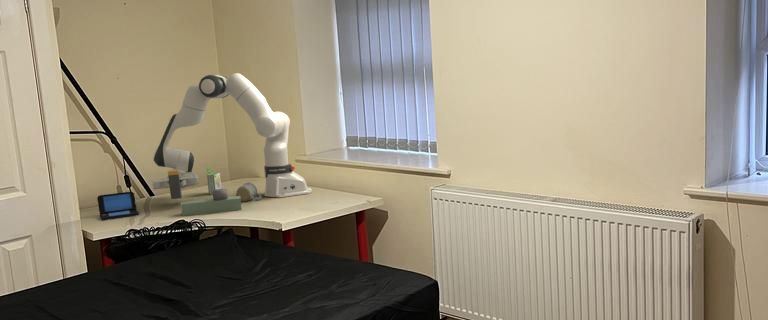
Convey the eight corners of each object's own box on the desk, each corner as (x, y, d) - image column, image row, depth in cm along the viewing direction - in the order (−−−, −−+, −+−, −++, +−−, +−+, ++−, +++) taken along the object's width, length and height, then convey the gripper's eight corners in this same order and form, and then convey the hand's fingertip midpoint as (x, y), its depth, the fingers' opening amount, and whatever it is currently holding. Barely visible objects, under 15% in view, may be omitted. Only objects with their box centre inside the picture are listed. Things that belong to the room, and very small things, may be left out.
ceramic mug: (235, 202, 327) (234, 185, 326) (242, 198, 335) (241, 182, 334) (257, 202, 325) (256, 185, 324) (264, 198, 333) (262, 182, 332)
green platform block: (240, 204, 322) (239, 184, 321) (241, 209, 310) (239, 189, 309) (183, 210, 317) (181, 190, 315) (182, 215, 305) (180, 195, 303)
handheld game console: (101, 221, 306) (99, 200, 304) (99, 216, 317) (96, 195, 316) (139, 215, 312) (137, 195, 311) (135, 210, 324) (133, 190, 323)
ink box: (216, 194, 349) (213, 167, 347) (208, 195, 350) (205, 168, 348) (222, 192, 356) (219, 165, 354) (214, 192, 357) (212, 165, 355)
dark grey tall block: (181, 195, 327) (178, 168, 325) (181, 198, 321) (177, 170, 319) (172, 197, 326) (168, 169, 324) (171, 199, 320) (167, 171, 318)
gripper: (152, 176, 332) (150, 180, 319) (197, 171, 337) (196, 175, 323) (154, 189, 333) (151, 194, 320) (199, 184, 338) (198, 189, 324)
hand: (174, 184), depth 322 cm, fingers closed on dark grey tall block, 4 cm apart
